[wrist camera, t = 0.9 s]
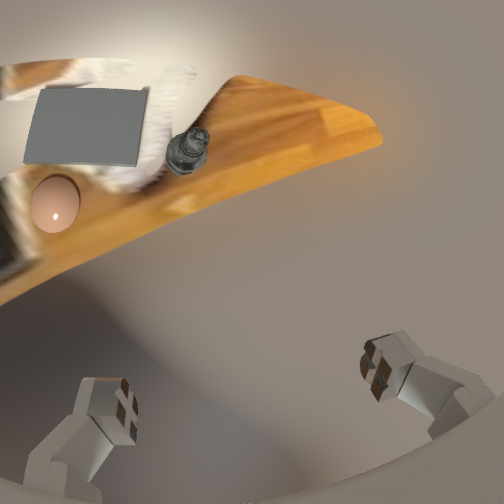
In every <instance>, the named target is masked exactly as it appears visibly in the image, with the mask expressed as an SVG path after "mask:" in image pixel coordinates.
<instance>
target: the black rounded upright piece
mask: <svg viewBox="0 0 504 504" xmlns="http://www.w3.org/2000/svg"><path fill="white" fill-rule="evenodd" d="M208 143H209V134H208V132H207V130H205V129H204V128H202V127H194V128H192V129H190V130H189V131H188V132H187V133H182V134H179V135H177V136H175V137H174V138H173V139H172V140H171V141H170V142H169V144H168V146H167V153H166V163H167V166H168V168H169V169H170V170H171V171H172V172H174V173H176V174H178V175H187V174H190V173H192V172H193V171H196V170H198V169H199V168H200V167H202V166H203V164H204V163H205V161H206V159H207V147H206V146H207V144H208Z"/></svg>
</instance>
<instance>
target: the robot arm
mask: <svg viewBox="0 0 504 504" xmlns="http://www.w3.org/2000/svg"><path fill="white" fill-rule="evenodd" d="M364 350H365V351H366V352H365V353H364V355H363V356H362V357H361V360H360V372H361V374H362V377H363V378H364V380H365V381H366V382H368V383H370V384H371V389H370V390H371V392H372V393H373V395H374V397H375V398H376V400H377V402H378V403H379V402H381V401H384V400H387V399H390V398H393V397H396V396H398V398H400V399H402V400H403V401H405V402H406V403H408V404H410V405H411V406H413V407H415V408H416V409H418V410H419V411H421V412H423V413H425V414H426V415H428V416H429V417H431V418H433V419H434V421H433V423H432V424H431V425H430V427H429V428H428V431H427V432H428V433H429V435H430V437H431V438H432V441H430V442H428V443H427V444H424V445H423V446H421V447H419V448H417V449H415V450H413V451H411V452H409V453H407V454H405V455H403V456H401V457H399V458H397V459H394V460H392V461H390V462H388V463H385V464H383V465H381V466H379V467H376V468H374V469H371V470H369V471H366V472H364V473H361V474H358V475H356V476H353V477H350V478H348V479H344V480H342V481H339V482H336V483H332V484H329V485H326V486H323V487H320V488H316V489H312V490H309V491H305V492H301V493H297V494H293V495H289V496H284V497H279V498H274V499H269V500H264V501H258V502H253V503H245V504H504V392H503V393H502V394H500V395H499V396H498V397H496V396H495V394H493V392H492V391H491V389H490V388H489V387H488V386H487V385H486V384H485V382H484V381H483V380H482V379H481V378H480V377H479V375H476V374H474V373H471V372H468V371H466V370H464V369H461V368H459V367H456V366H454V365H451V364H449V363H446V362H444V361H441V360H439V359H436V358H434V357H432V356H428V357H427V356H426V355H425V354H424V353H423V351H422V350H421V349H420V348H419V347H418V346H417V345H416V343H415V342H414V341H413V340H412V339H411V338H410V336H409V335H408V334H407V333H406V332H405V331H403V330H400V331H397V332H394V333H391V334H387V335H383V336H380V337H377V338H374V339H370V340H367V341H366V343H365V345H364ZM137 419H138V403H137V400H136V397H135V395H134V393H133V392H131V391H129V383H128V381H127V379H126V378H84V379H83V380H82V381H81V384H80V388H79V392H78V395H77V399H76V403H75V407H74V411H73V415H68V416H67V417H66V418H65V419H64V420H63V421H62V422H61V423H60V424H59V425H58V426H57V427H56V428H55V429H54V430H53V431H52V432H51V433H50V434H49V435H48V436H47V437H46V438H45V439H44V440H43V441H42V442H41V443H40V444H39V445H38V446H37V447H36V448H35V449H34V450H33V451H32V452H31V453H30V454H29V457H28V462H27V466H26V471H25V476H24V481H23V486H22V485H19V484H16V483H13V482H10V481H8V480H5V479H2V478H0V504H102V493H101V492H100V490H98V489H97V488H96V487H94V486H93V485H92V484H90V483H89V482H90V480H91V479H92V477H93V476H94V474H95V473H96V471H97V470H98V468H99V467H100V466H101V464H102V463H103V461H104V460H105V458H106V457H107V456H108V454H109V452H110V451H111V450H112V448H113V447H114V446H113V445H136V443H137V428H136V426H135V425H134V423H135V421H136V420H137Z"/></svg>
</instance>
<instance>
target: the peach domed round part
mask: <svg viewBox="0 0 504 504" xmlns="http://www.w3.org/2000/svg"><path fill="white" fill-rule="evenodd" d="M79 206H80V200H79V195H78V192H77V190H76V188H75V186H74V185H73V184H72V183H71V182H70V181H68V180H67V179H65V178H62V177H52V178H49V179H46V180H45V181H43V182H42V183H41V184H40V185H39V186H38V187H37V188H36V190H35V191H34V193H33V196H32V199H31V207H30V208H31V215H32V218H33V220H34V222H35V223H36V225H37V226H38V227H39V228H40V229H42V230H44V231H46V232H51V233H56V232H61V231H63V230H65V229H67V228H68V227H69V226H70V225H71V224H72V223H73V222H74V220H75V219H76V217H77V214H78V211H79Z"/></svg>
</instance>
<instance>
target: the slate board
mask: <svg viewBox="0 0 504 504" xmlns="http://www.w3.org/2000/svg"><path fill="white" fill-rule="evenodd" d="M147 93H148V91H139V90H124V89H105V88H55V89H41V91H40V94H39V97H38V100H37V104H36V108H35V111H34V115H33V118H32V123H31V126H30V130H29V135H28V140H27V144H26V149H25V154H24V160H23V163H25V164H73V165H105V166H124V167H136V160H137V153H138V146H139V139H140V132H141V126H142V120H143V115H144V109H145V104H146V99H147Z"/></svg>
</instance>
